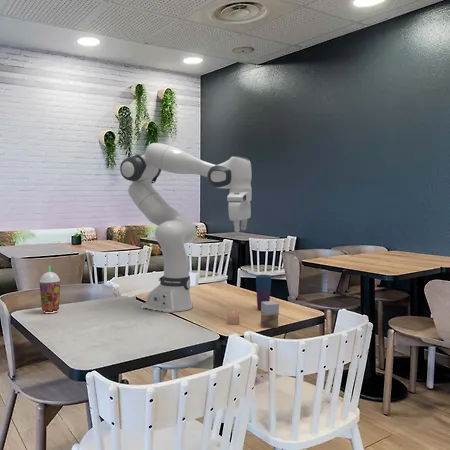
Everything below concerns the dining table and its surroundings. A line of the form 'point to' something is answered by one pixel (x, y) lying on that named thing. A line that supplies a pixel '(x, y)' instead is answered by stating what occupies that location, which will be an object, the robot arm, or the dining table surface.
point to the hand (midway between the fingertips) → (240, 230)
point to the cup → (263, 289)
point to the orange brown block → (233, 317)
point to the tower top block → (269, 308)
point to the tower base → (269, 321)
